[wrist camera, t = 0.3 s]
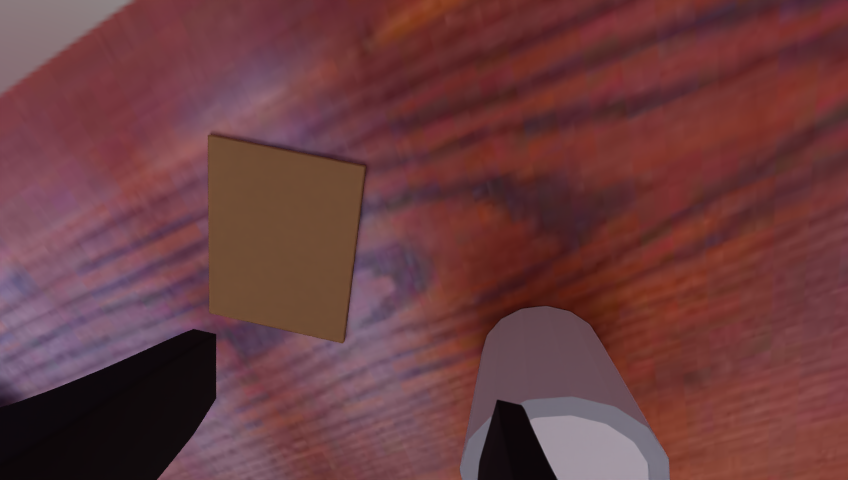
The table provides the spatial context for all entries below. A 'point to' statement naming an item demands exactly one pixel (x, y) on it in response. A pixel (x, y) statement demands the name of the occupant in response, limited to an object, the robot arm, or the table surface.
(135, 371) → the robot arm
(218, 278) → the mat
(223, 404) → the table surface
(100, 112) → the table surface
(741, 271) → the table surface
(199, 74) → the table surface
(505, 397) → the pale grey cylinder
